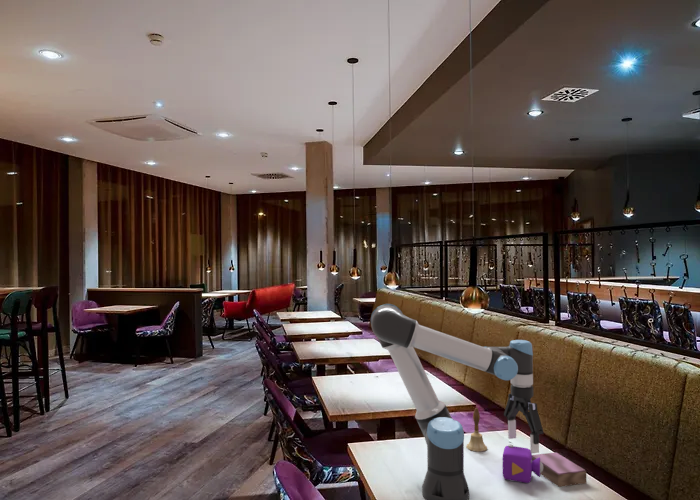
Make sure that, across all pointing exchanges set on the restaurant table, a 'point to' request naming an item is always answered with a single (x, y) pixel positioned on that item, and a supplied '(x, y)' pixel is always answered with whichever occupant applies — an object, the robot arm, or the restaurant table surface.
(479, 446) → the hand bell
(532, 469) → the toy camera
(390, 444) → the restaurant table surface
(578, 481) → the walnut step
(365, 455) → the restaurant table surface
